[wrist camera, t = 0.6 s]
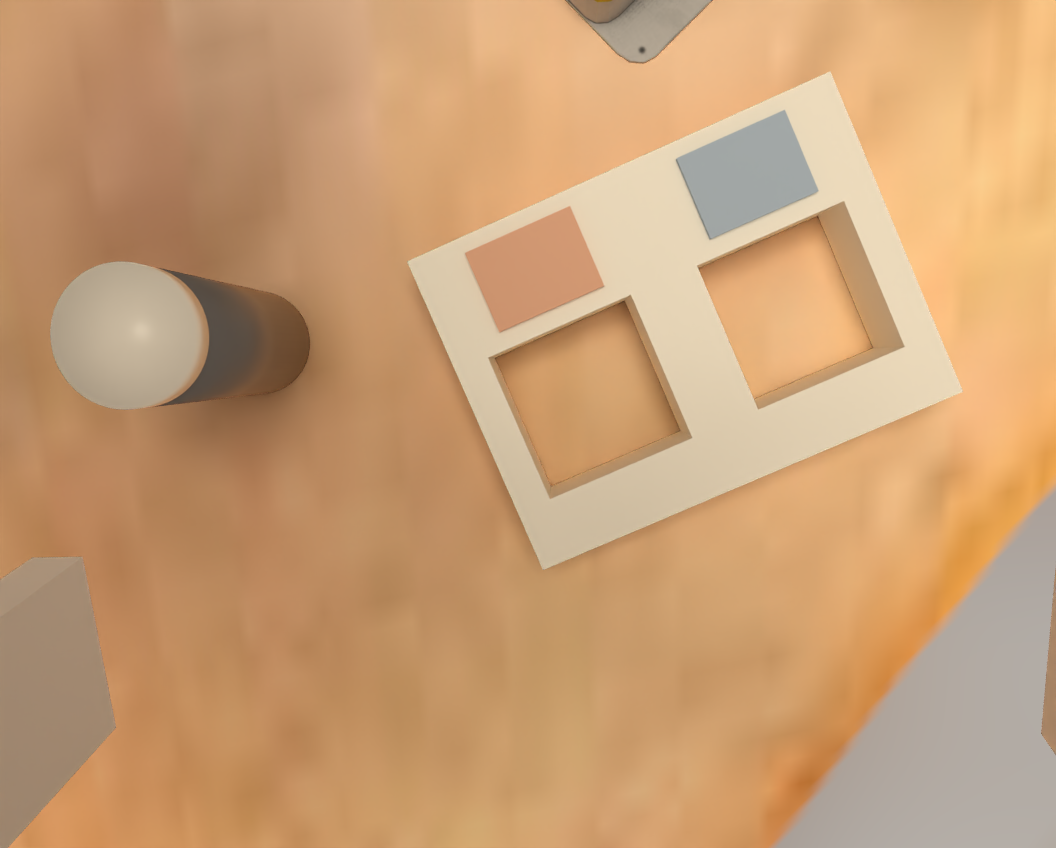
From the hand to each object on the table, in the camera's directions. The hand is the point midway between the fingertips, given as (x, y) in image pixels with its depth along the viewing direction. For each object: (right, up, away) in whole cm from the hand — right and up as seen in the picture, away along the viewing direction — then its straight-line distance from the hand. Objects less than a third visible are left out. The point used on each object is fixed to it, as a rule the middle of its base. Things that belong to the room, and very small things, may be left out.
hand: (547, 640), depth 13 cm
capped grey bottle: (-11, +6, +25) cm, 28 cm away
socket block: (+5, +7, +25) cm, 26 cm away
